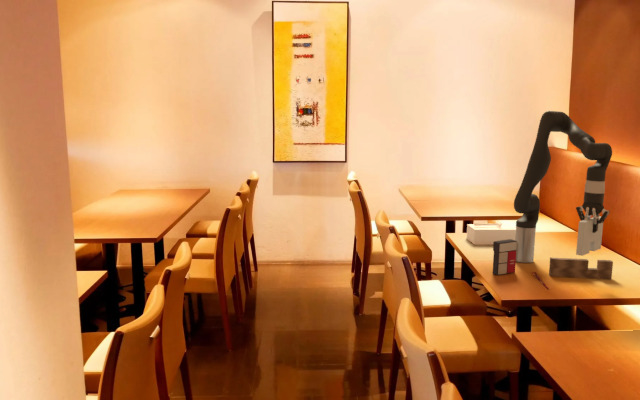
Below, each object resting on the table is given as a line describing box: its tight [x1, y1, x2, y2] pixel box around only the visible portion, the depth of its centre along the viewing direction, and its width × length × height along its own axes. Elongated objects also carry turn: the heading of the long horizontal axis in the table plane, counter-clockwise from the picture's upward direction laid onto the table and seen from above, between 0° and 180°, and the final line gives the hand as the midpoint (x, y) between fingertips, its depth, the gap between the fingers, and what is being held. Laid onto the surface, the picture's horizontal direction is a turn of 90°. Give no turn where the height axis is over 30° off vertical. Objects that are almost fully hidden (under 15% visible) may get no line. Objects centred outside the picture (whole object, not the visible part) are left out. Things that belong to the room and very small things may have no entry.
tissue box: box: [466, 221, 516, 245], centre depth 330 cm, size 14×25×11 cm, turn 92°
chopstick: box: [530, 271, 550, 290], centre depth 258 cm, size 2×24×1 cm, turn 175°
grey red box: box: [492, 239, 517, 276], centre depth 268 cm, size 11×4×15 cm, turn 118°
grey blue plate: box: [575, 215, 604, 257], centre depth 248 cm, size 18×2×14 cm, turn 132°
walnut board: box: [548, 257, 614, 280], centre depth 264 cm, size 26×2×8 cm, turn 81°
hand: (590, 231), depth 248 cm, fingers closed on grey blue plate, 2 cm apart
